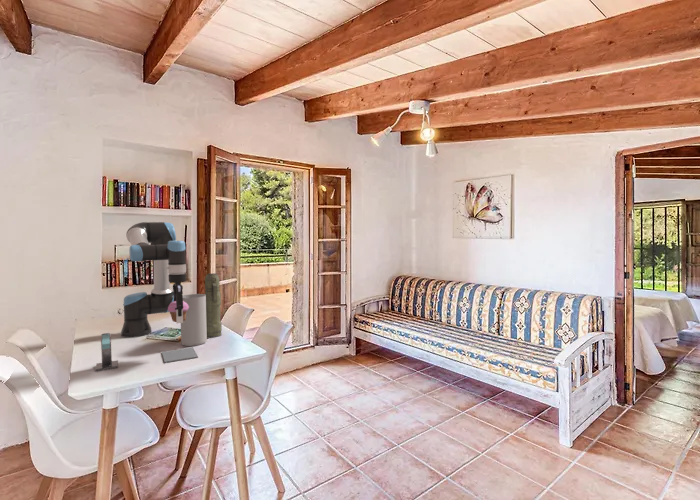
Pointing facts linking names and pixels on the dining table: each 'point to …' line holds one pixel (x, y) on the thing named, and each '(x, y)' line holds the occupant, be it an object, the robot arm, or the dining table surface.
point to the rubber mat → (179, 355)
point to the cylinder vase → (194, 321)
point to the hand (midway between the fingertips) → (178, 320)
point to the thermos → (213, 305)
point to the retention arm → (105, 340)
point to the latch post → (106, 360)
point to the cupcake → (173, 311)
